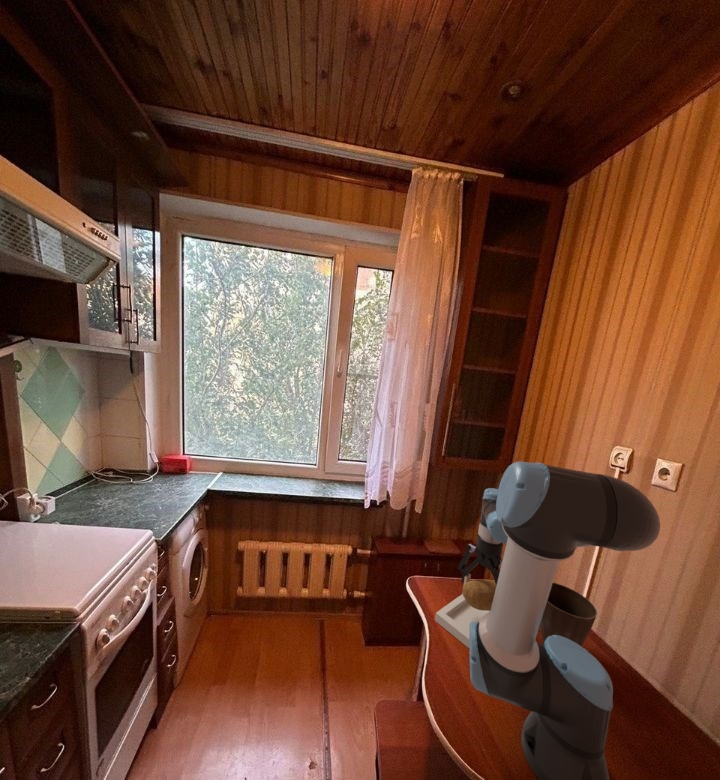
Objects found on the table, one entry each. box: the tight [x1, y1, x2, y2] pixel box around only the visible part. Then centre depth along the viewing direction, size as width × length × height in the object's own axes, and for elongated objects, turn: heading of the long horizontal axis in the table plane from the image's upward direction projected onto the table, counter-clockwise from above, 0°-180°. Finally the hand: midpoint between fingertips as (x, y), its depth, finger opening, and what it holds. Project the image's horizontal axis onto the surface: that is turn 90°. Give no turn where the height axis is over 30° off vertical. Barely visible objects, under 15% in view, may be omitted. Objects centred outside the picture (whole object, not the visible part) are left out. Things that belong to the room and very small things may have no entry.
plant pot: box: [539, 582, 598, 647], centre depth 92 cm, size 15×15×16 cm
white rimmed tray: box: [434, 594, 491, 649], centre depth 98 cm, size 22×18×3 cm
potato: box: [462, 578, 496, 611], centre depth 97 cm, size 10×14×8 cm
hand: (480, 604), depth 98 cm, fingers closed on potato, 10 cm apart
